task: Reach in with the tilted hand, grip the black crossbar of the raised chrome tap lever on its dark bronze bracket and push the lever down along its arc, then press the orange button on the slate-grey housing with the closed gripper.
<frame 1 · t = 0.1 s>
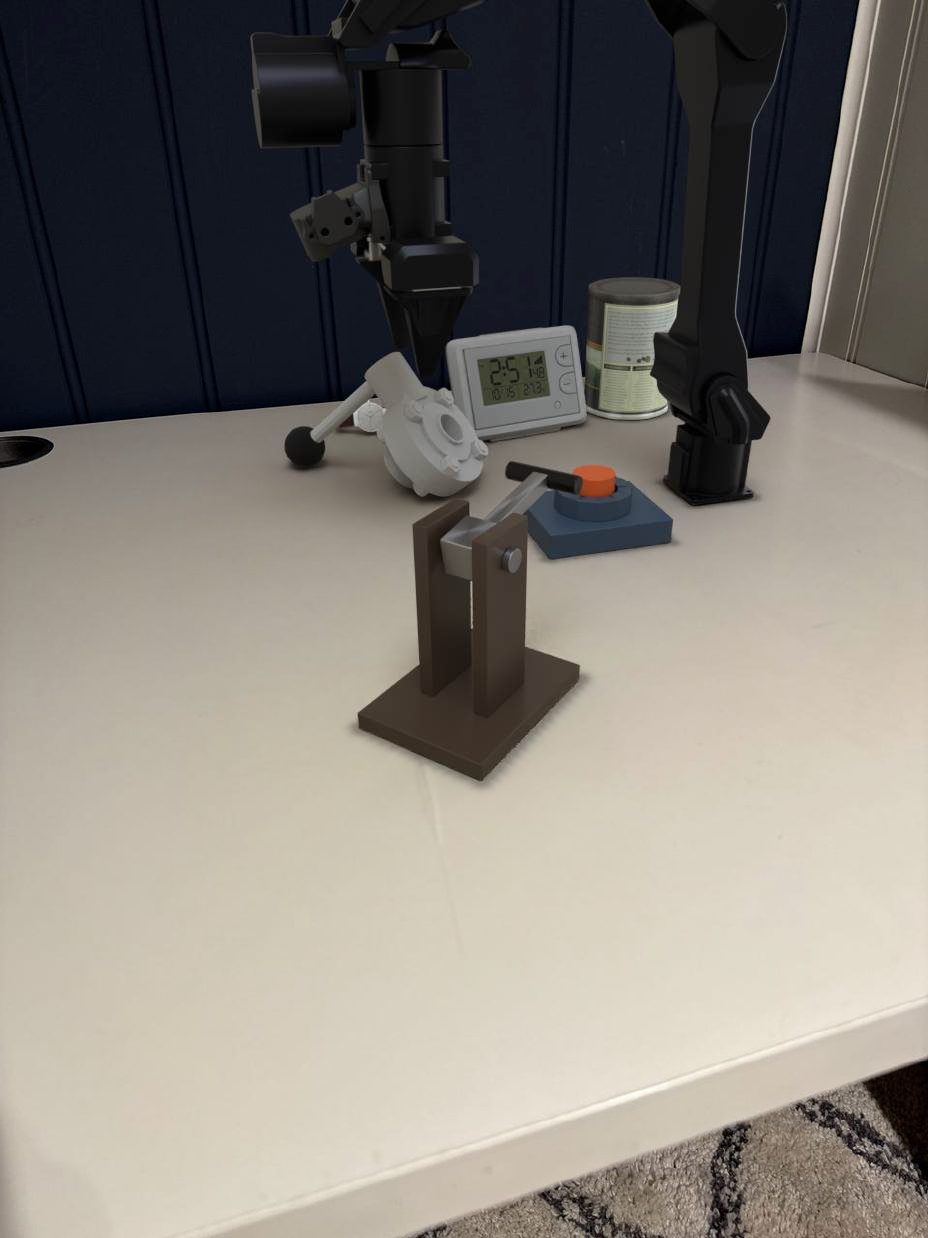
hand: (412, 361, 73), 15 cm above the table, tool pointing down, fingers open, 9 cm apart
coffee can: (624, 408, 109), on the table
button housing: (590, 529, 79), on the table
button: (593, 481, 77), point 4 cm above the table, slide at 0.1 cm
mechanical valve: (377, 481, 90), on the table
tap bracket: (472, 703, 57), on the table
tap lever: (505, 514, 54), point 12 cm above the table, hinge at 10.0°
watch: (369, 429, 104), on the table
digital clock: (517, 431, 102), on the table
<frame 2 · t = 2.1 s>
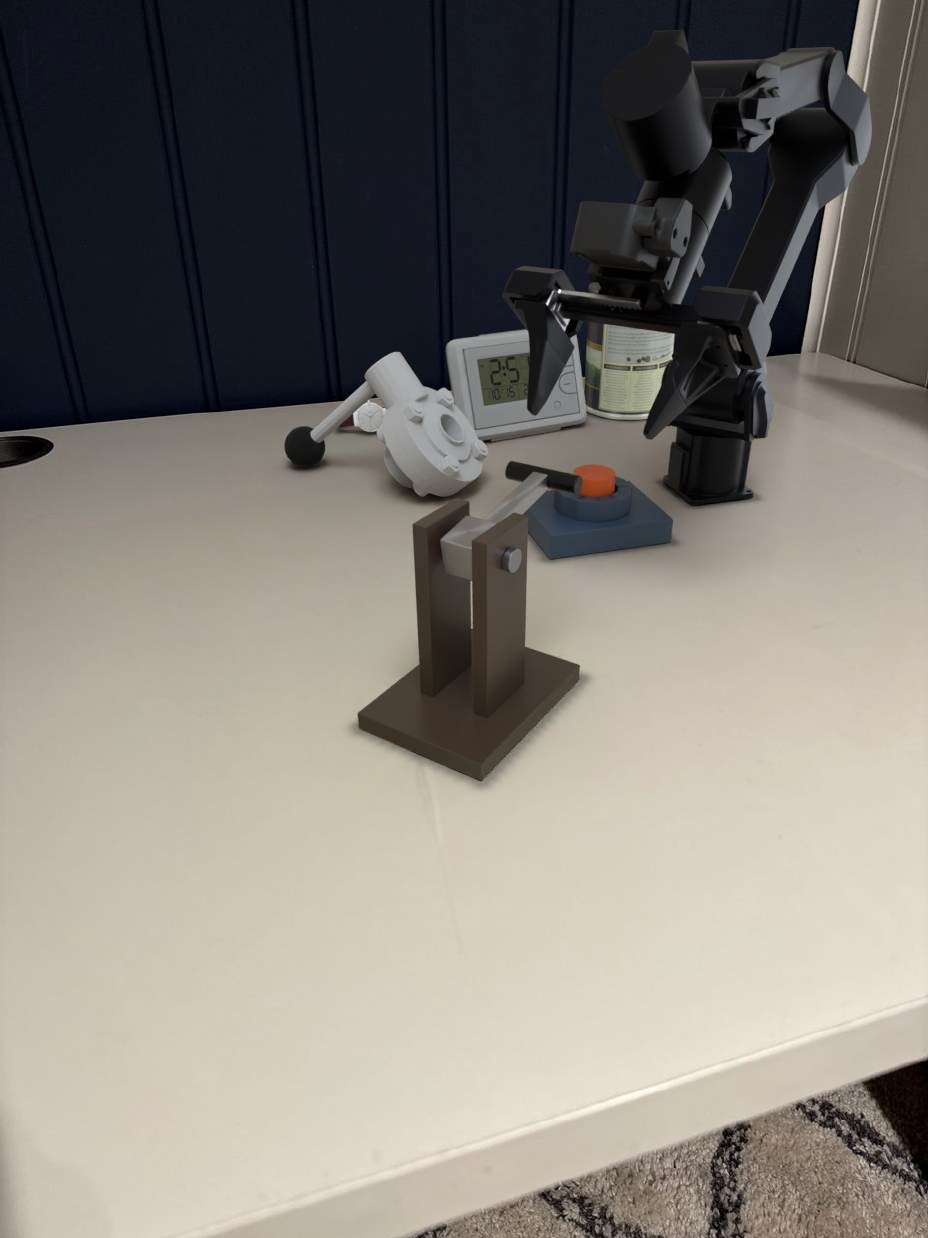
hand: (587, 424, 62), 13 cm above the table, tool tilted 40°, fingers open, 9 cm apart
nothing on the table moved.
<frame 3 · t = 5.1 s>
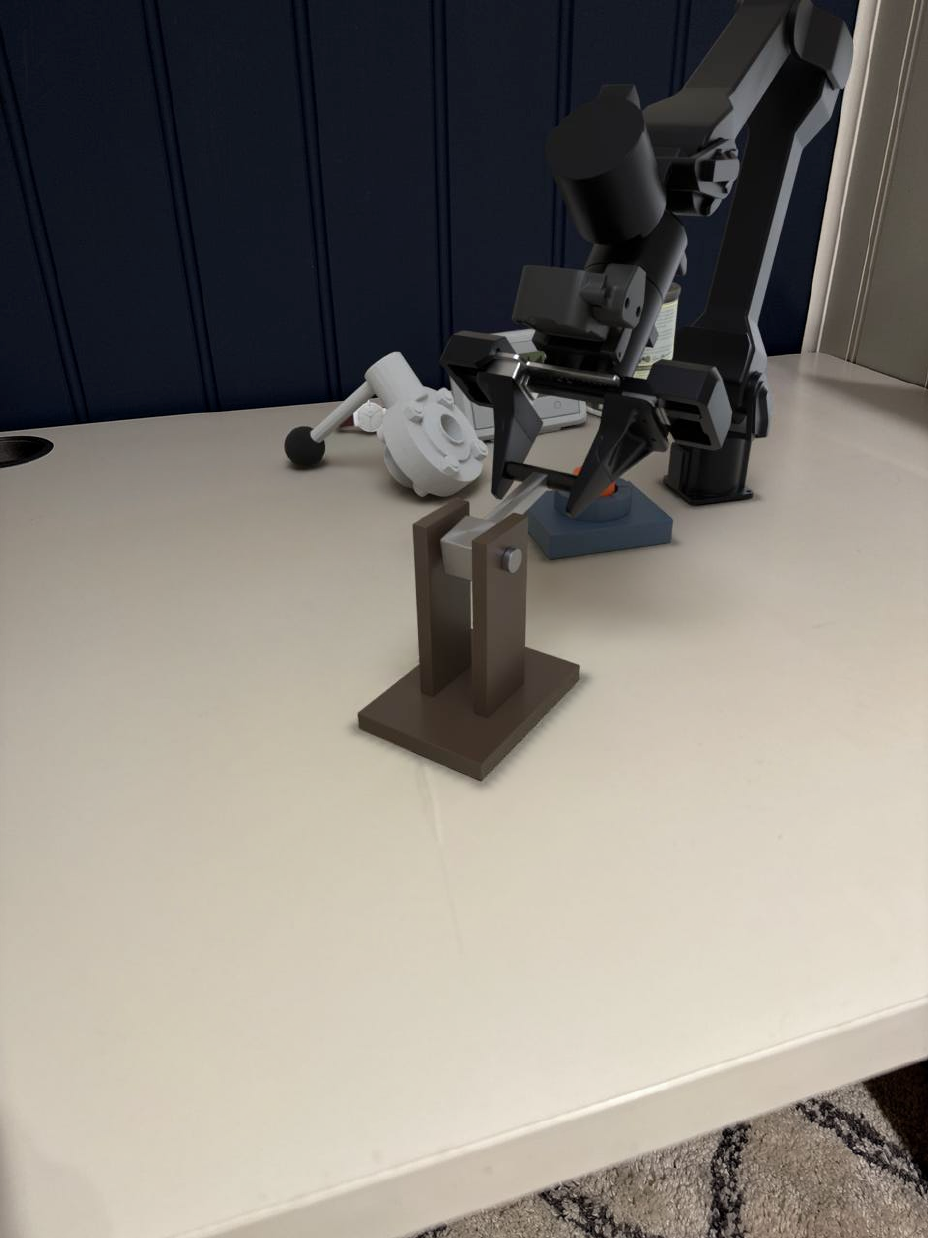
hand: (531, 505, 56), 11 cm above the table, tool tilted 45°, fingers closed on tap lever, 5 cm apart
tap lever: (505, 514, 54), point 12 cm above the table, hinge at 10.0°, touching gripper
everything else where it was.
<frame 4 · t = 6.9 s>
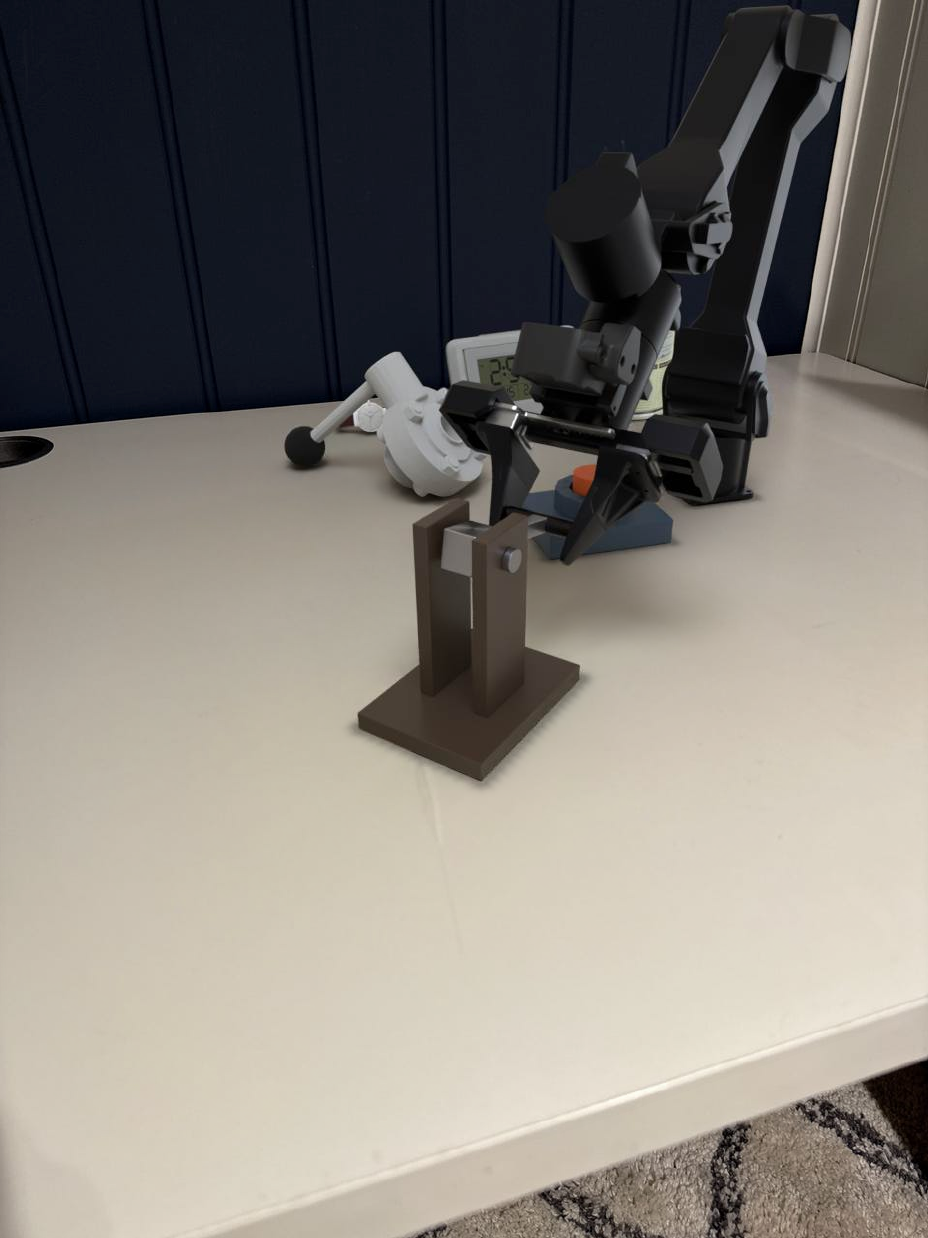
hand: (527, 552, 58), 8 cm above the table, tool tilted 45°, fingers closed on tap lever, 5 cm apart
tap lever: (505, 535, 55), point 10 cm above the table, hinge at -11.0°, touching gripper
everything else where it was.
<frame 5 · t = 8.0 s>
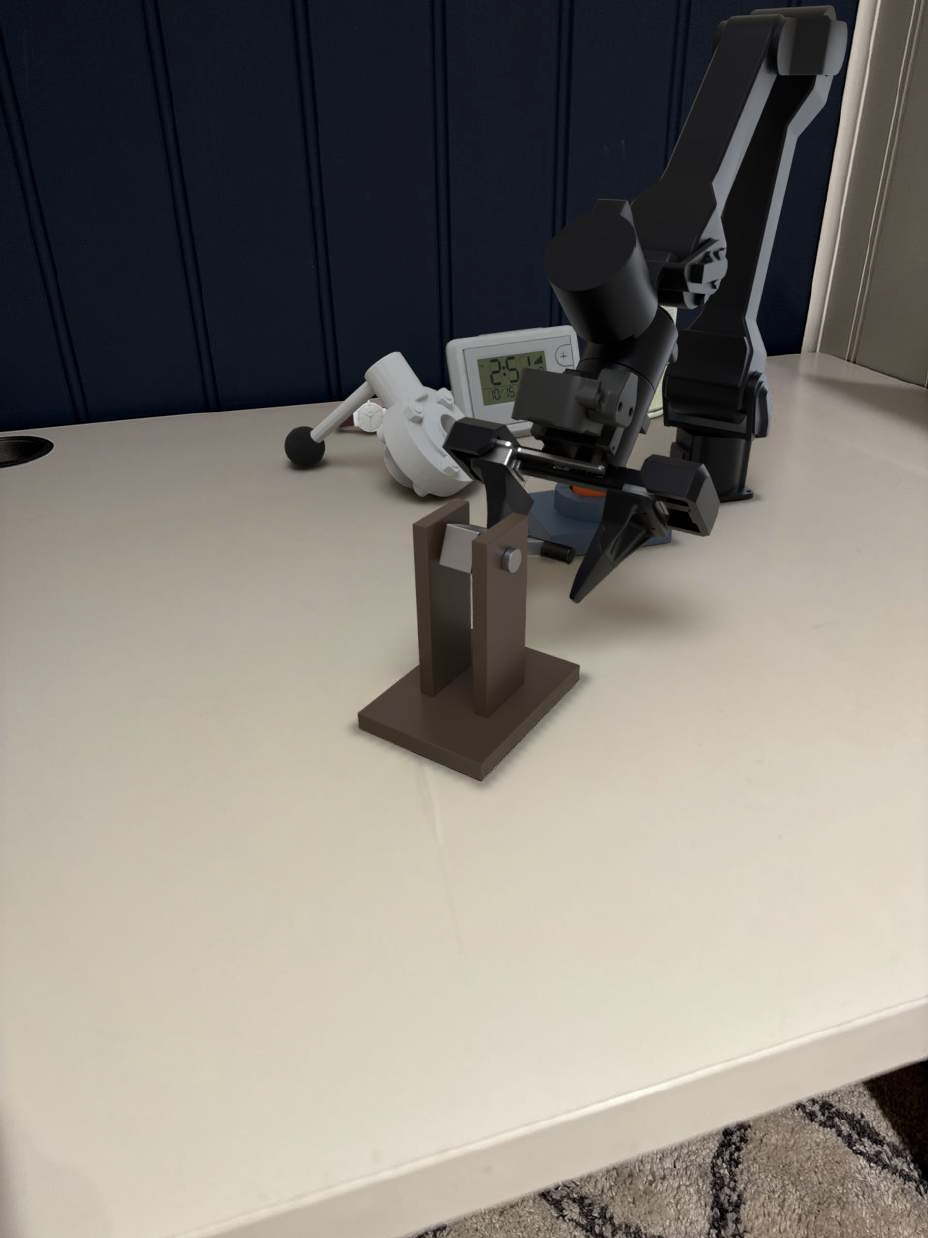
hand: (529, 588, 60), 5 cm above the table, tool tilted 45°, fingers open, 6 cm apart
tap lever: (503, 547, 55), point 10 cm above the table, hinge at -22.0°
everything else where it was.
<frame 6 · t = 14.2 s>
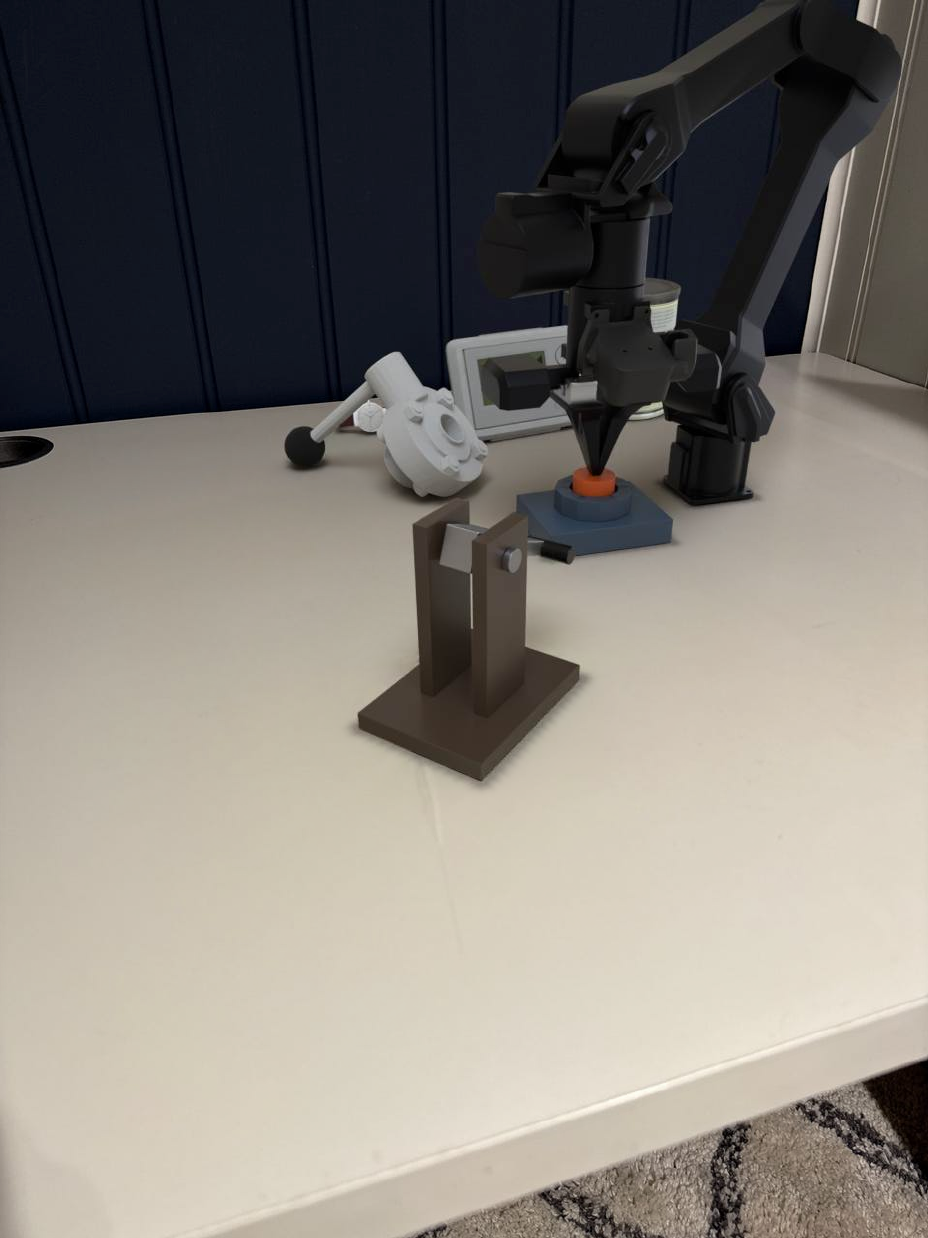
hand: (594, 474, 77), 5 cm above the table, tool pointing down, fingers closed, pressing on button
button: (593, 483, 77), point 4 cm above the table, slide at -0.1 cm, touching gripper
everything else where it was.
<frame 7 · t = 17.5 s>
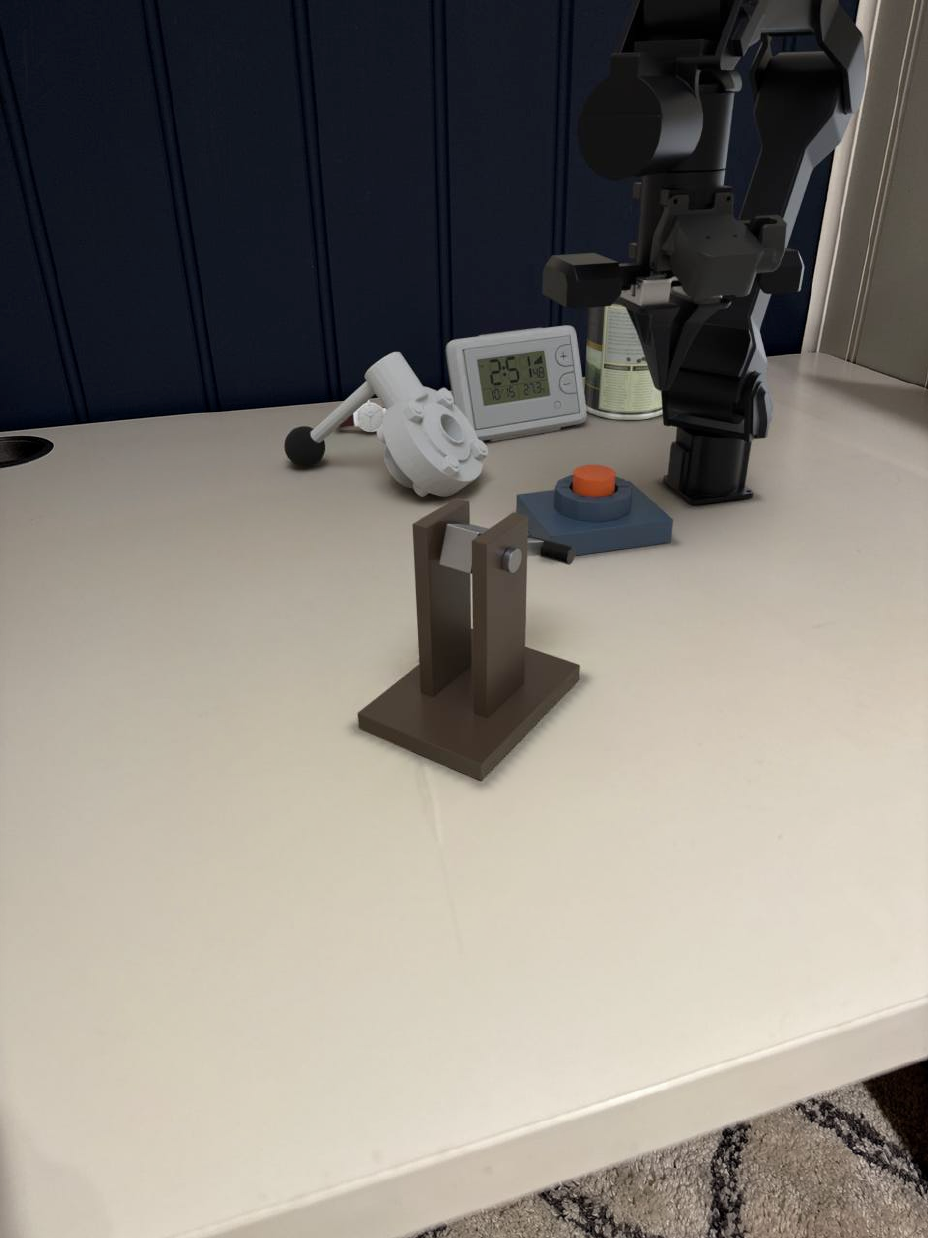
hand: (661, 388, 71), 13 cm above the table, tool pointing down, fingers closed
button: (593, 481, 77), point 4 cm above the table, slide at 0.1 cm
everything else where it was.
at the end: tap lever at -22° (first picture: +10°); button pushed in 1.1 cm at the most during the clip, back to where it started at the end; button slide at 0.1 cm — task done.
